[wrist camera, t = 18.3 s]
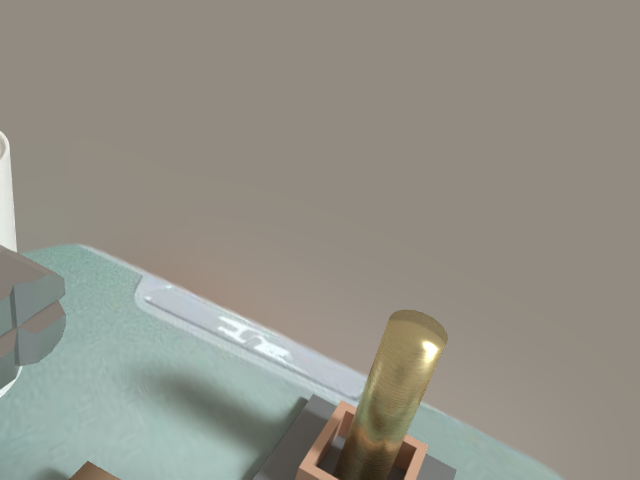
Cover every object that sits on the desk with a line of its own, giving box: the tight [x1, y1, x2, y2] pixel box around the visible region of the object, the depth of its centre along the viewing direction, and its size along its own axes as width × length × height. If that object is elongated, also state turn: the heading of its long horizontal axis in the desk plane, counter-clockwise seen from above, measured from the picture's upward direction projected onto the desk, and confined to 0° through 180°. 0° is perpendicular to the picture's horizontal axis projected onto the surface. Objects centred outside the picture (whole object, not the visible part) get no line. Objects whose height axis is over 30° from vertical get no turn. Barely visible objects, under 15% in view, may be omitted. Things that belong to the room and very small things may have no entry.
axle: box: [333, 310, 448, 480], centre depth 41 cm, size 4×4×16 cm
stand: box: [253, 394, 456, 480], centre depth 44 cm, size 14×12×4 cm
